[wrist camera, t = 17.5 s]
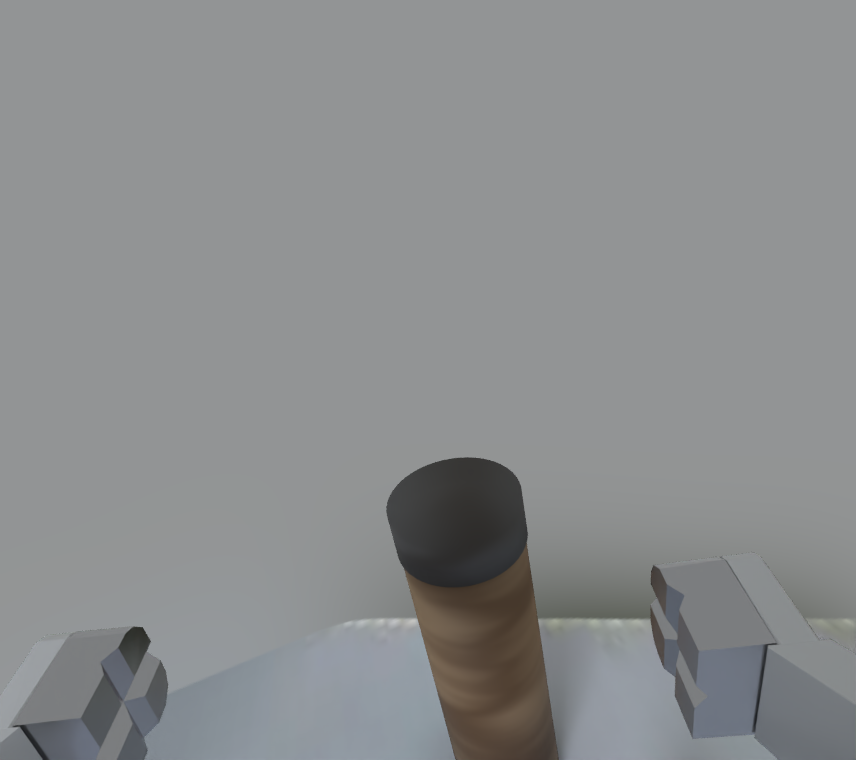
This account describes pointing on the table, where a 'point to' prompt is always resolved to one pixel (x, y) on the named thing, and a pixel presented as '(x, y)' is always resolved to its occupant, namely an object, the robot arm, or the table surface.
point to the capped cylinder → (476, 606)
